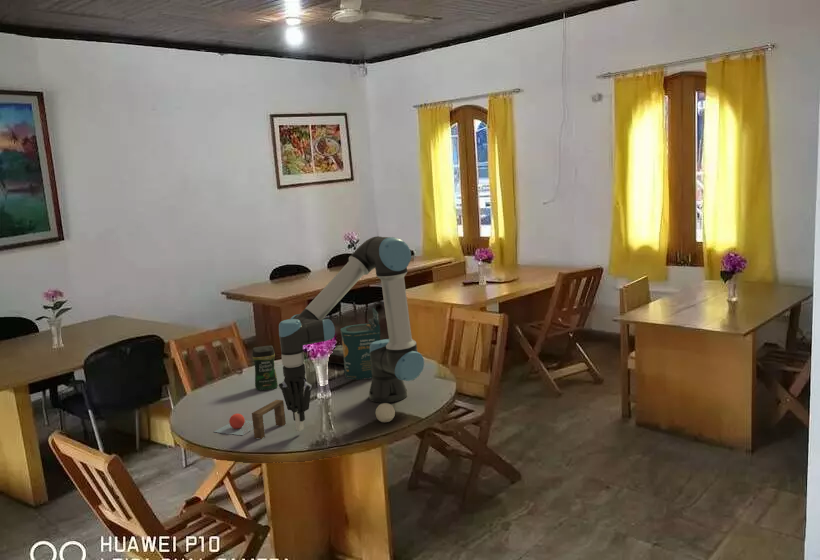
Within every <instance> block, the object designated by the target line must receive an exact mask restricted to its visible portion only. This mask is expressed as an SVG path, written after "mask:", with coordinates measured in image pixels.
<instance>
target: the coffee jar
mask: <svg viewBox="0 0 820 560" xmlns="http://www.w3.org/2000/svg"><path fill="white" fill-rule="evenodd" d="M275 353H276V352H275V349H274V347H273V345H264V346H262V345H261V346H255V347H254V346H253V348H252V353H251V355H252V356H251V357H252V360H253V363H254V383H255V384H254V386H255V390H257V391H268V390H275V389H276V388H278V387H279V383H278V376H277V372H276V368H275V367H276V366H275V356H276V354H275Z"/></svg>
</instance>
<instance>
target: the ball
mask: <svg viewBox="0 0 820 560" xmlns="http://www.w3.org/2000/svg"><path fill="white" fill-rule="evenodd" d="M245 420H246V419H245V417H244V415H243V414H241V413H234V414H232V415H231V416H230V418H229V420H228V422H229V423H230V426H231V427H232V428H234V429H239V428H241V427H242V426H243V425H244V423H245ZM229 423H228V424H229Z"/></svg>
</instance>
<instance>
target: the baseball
mask: <svg viewBox="0 0 820 560" xmlns="http://www.w3.org/2000/svg"><path fill="white" fill-rule="evenodd" d="M395 415H396V411H395V408H394V406H393V404H390V403H389V402H388V403H380V404H379V405H377V407H376V409H375V416H376V417H375V418H376V419H377V420H378V421H379V422H381V423H389V422H391V421H393V419H394V418H395Z"/></svg>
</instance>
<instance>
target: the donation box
mask: <svg viewBox="0 0 820 560" xmlns="http://www.w3.org/2000/svg"><path fill="white" fill-rule="evenodd" d="M380 323H381V322H380V314H379V312H378V311H377V310H376V309H375V308H374V307H372V318H369V319H368V323H359V324H353V325H350V324H349V325H346V326H344V327H341V328H340V335H341V342H342V343H341V344H342V345H343V356H344V365H343V366H344V368H343V372H344V373H343V374H344V375H345V378H346V379H349V380H355V379H356V380H357V381H358V380H359V379H360V380H365V379H364V378H367V379H371V378H370V377H372V371H371V359H370V344H371V343H372V342H375V341H379V340H381V325H380Z"/></svg>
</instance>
